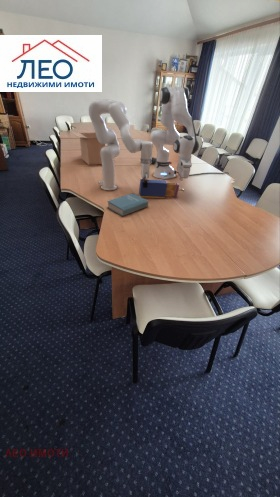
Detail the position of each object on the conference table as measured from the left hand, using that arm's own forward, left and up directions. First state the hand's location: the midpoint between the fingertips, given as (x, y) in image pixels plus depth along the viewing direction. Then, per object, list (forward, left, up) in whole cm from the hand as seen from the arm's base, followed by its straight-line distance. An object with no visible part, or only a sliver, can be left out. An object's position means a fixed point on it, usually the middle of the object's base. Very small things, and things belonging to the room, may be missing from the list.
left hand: (144, 185), depth 165 cm
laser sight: (-23, +88, -9) cm, 92 cm away
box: (-79, +63, -9) cm, 101 cm away
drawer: (+17, +9, -8) cm, 21 cm away
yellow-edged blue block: (+6, +3, -8) cm, 10 cm away
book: (-3, -23, -9) cm, 25 cm away
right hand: (+24, +12, +4) cm, 28 cm away
